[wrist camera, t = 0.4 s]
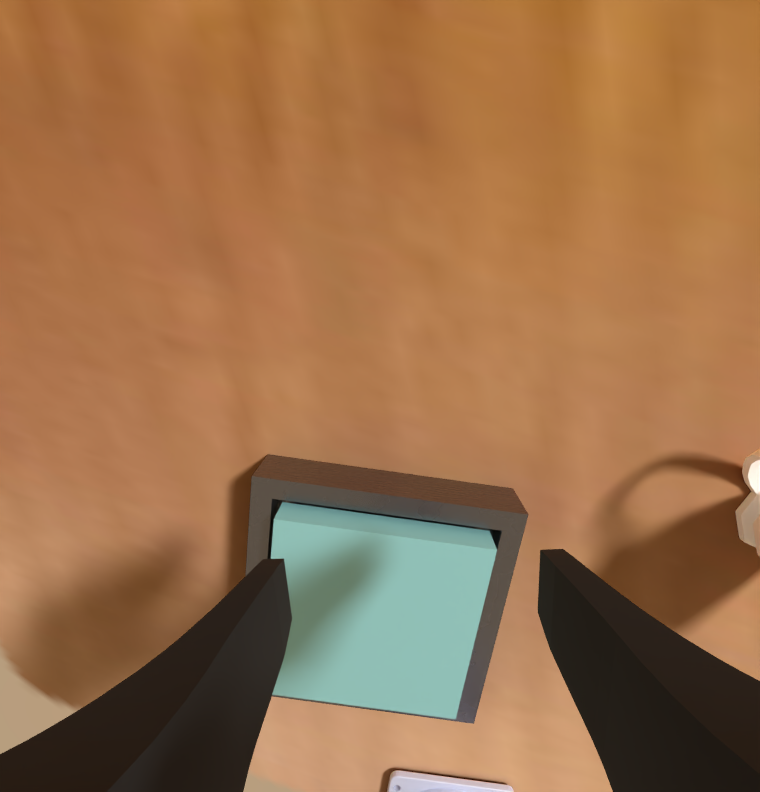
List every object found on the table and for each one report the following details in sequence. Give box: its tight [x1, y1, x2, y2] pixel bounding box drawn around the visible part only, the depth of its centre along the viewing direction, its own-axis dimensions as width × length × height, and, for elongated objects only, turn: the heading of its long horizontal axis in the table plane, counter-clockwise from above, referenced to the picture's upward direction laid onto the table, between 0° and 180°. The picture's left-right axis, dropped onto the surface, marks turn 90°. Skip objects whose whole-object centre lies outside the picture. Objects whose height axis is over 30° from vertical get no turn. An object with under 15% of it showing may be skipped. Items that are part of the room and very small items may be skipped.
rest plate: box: [271, 502, 497, 719], centre depth 20 cm, size 10×10×2 cm
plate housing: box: [246, 455, 528, 724], centre depth 22 cm, size 13×13×2 cm
